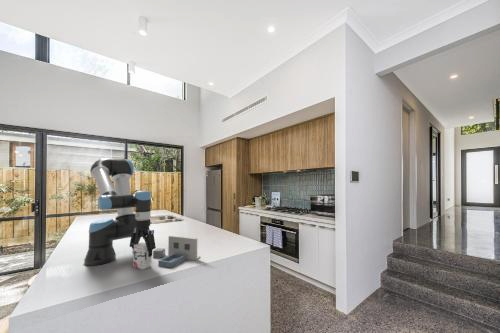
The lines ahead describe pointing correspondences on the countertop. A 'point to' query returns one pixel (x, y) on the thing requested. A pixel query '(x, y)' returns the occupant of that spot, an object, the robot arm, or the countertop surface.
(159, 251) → the brick
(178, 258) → the dock
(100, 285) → the countertop surface
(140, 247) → the ink box
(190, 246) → the plate
